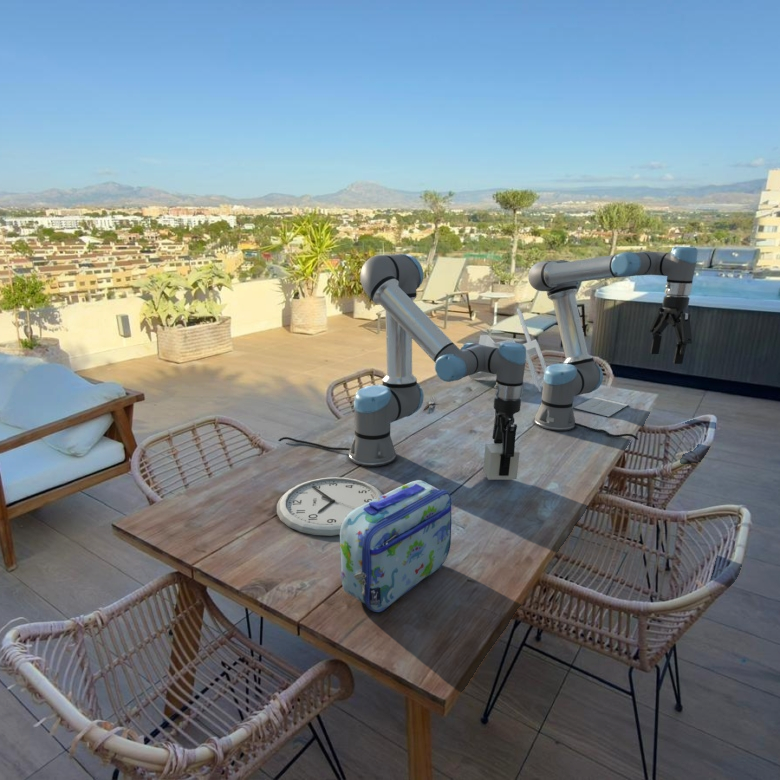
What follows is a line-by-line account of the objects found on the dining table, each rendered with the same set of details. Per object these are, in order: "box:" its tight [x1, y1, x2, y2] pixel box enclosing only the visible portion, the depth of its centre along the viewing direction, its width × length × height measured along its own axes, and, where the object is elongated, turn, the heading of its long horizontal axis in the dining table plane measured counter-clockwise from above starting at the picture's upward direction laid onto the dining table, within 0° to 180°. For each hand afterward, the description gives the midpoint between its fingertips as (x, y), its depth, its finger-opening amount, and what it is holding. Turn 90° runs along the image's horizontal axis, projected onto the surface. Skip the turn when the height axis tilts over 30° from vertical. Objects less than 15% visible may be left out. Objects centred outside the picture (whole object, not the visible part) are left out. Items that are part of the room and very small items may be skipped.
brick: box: [482, 443, 521, 481], centre depth 156 cm, size 8×6×9 cm
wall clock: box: [276, 476, 385, 537], centre depth 142 cm, size 30×2×30 cm
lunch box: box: [339, 479, 452, 613], centre depth 109 cm, size 26×11×21 cm, turn 134°
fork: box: [422, 395, 437, 412], centre depth 223 cm, size 3×16×2 cm, turn 160°
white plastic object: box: [468, 307, 548, 393], centre depth 256 cm, size 37×45×31 cm
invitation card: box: [573, 396, 629, 418], centre depth 226 cm, size 21×1×15 cm
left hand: (500, 469), depth 157 cm, fingers closed on brick, 6 cm apart
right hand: (665, 358), depth 178 cm, fingers open, 13 cm apart
